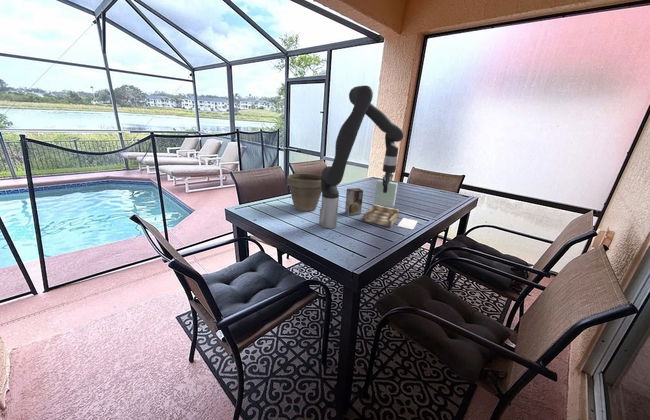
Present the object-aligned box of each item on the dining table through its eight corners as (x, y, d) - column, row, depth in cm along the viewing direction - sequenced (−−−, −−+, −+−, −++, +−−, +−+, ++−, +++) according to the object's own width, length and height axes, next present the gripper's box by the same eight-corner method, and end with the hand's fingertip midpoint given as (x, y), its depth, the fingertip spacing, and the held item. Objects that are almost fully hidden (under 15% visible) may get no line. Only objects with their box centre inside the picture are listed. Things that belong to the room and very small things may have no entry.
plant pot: (308, 200, 186) (309, 171, 179) (331, 209, 169) (333, 178, 162) (279, 206, 170) (279, 174, 163) (302, 217, 153) (302, 182, 146)
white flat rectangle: (397, 226, 147) (397, 225, 147) (403, 218, 161) (403, 217, 160) (412, 230, 143) (412, 229, 143) (417, 221, 157) (418, 221, 156)
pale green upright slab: (373, 202, 157) (376, 180, 153) (375, 201, 161) (378, 179, 156) (392, 206, 152) (396, 184, 147) (394, 205, 155) (398, 183, 151)
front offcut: (370, 220, 154) (371, 214, 153) (372, 219, 156) (373, 213, 155) (384, 224, 149) (385, 218, 148) (386, 223, 152) (387, 217, 150)
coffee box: (357, 211, 169) (359, 187, 164) (361, 214, 164) (363, 190, 158) (344, 211, 167) (346, 188, 161) (348, 215, 161) (350, 190, 155)
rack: (363, 220, 153) (364, 211, 151) (372, 212, 167) (373, 204, 165) (390, 227, 146) (391, 217, 144) (397, 218, 160) (399, 209, 158)
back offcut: (372, 219, 157) (373, 211, 155) (374, 217, 159) (375, 210, 157) (386, 222, 153) (387, 214, 151) (388, 221, 155) (389, 213, 153)
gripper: (387, 162, 156) (383, 188, 161) (380, 164, 144) (376, 193, 150) (399, 163, 152) (394, 190, 158) (393, 166, 141) (388, 195, 146)
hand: (385, 191), depth 154 cm, fingers closed on pale green upright slab, 4 cm apart
